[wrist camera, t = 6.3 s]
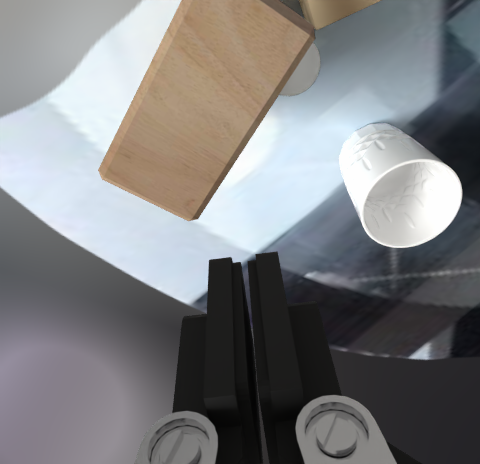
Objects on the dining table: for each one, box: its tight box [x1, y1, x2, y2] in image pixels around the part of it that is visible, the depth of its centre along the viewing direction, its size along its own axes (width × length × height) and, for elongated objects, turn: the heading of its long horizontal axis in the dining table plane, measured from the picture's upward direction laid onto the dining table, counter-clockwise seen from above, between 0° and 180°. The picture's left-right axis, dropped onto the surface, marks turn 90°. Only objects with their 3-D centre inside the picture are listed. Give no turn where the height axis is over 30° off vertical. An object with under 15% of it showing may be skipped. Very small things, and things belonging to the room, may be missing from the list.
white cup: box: [339, 123, 462, 248], centre depth 39 cm, size 8×8×10 cm
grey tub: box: [279, 43, 320, 96], centre depth 35 cm, size 4×4×6 cm
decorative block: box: [98, 0, 315, 221], centre depth 29 cm, size 11×6×20 cm, turn 146°
